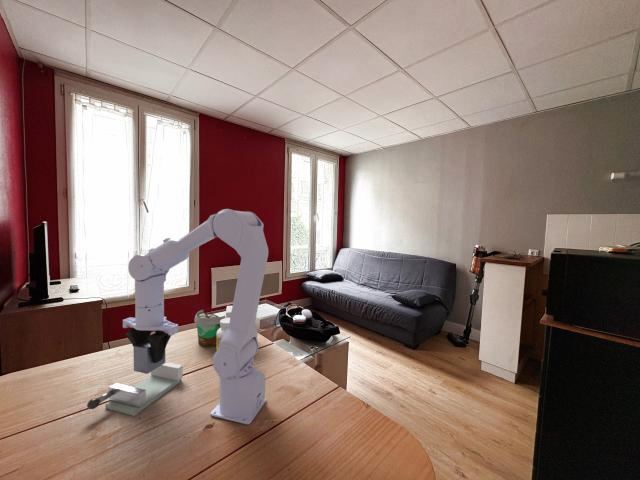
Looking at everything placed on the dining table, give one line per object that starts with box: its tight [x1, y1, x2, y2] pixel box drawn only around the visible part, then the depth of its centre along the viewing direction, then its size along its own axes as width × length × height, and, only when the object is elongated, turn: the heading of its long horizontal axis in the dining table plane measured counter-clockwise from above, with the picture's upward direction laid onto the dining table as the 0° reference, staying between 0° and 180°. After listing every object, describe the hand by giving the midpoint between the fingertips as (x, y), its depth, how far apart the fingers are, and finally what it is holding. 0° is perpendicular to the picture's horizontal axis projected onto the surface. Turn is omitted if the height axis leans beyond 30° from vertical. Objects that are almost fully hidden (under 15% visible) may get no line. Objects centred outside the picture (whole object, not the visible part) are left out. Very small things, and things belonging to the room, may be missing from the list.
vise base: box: [105, 361, 184, 417], centre depth 62 cm, size 9×13×4 cm, turn 165°
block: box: [133, 340, 166, 375], centre depth 62 cm, size 5×4×6 cm
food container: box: [194, 309, 226, 348], centre depth 88 cm, size 12×6×10 cm, turn 62°
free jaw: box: [86, 382, 146, 410], centre depth 55 cm, size 9×6×3 cm
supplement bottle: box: [215, 317, 230, 351], centre depth 76 cm, size 7×7×13 cm
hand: (150, 359), depth 62 cm, fingers closed on block, 4 cm apart
